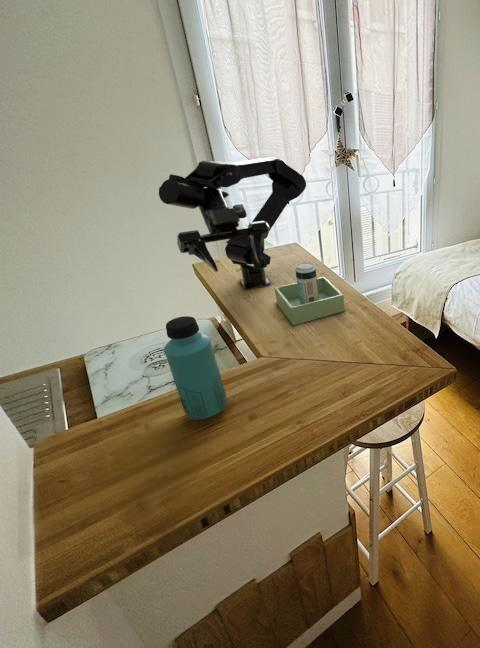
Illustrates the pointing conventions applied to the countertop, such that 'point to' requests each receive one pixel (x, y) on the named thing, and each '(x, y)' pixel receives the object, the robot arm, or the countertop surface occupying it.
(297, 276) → the labeled cylindrical canister
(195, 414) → the beverage bottle
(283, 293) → the bin
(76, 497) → the countertop surface
